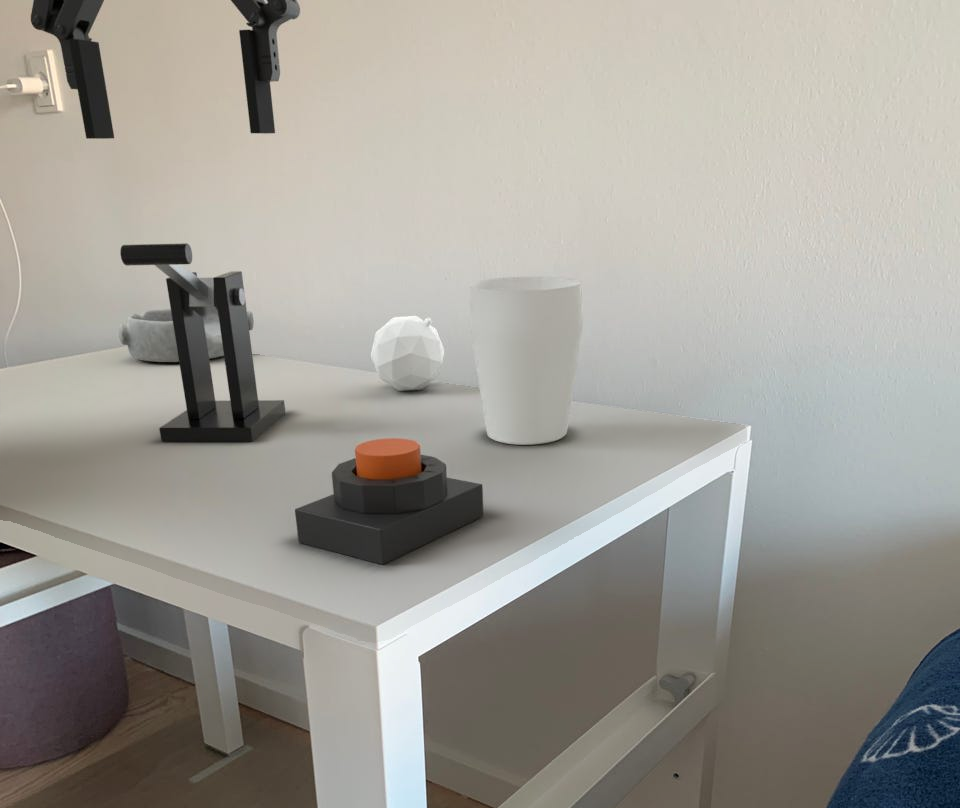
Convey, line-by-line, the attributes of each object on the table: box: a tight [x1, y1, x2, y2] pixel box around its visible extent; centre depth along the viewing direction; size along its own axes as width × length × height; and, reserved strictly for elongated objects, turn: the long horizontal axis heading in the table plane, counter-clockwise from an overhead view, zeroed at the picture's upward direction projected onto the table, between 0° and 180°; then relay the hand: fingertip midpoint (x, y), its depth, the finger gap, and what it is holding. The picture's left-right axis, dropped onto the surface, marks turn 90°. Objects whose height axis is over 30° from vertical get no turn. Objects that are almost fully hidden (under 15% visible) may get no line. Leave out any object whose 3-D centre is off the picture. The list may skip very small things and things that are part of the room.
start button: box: [354, 437, 422, 479], centre depth 62 cm, size 4×4×2 cm
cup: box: [468, 276, 584, 446], centre depth 81 cm, size 9×9×12 cm
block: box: [294, 454, 484, 565], centre depth 63 cm, size 10×7×4 cm
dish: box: [118, 308, 255, 363], centre depth 121 cm, size 14×14×5 cm
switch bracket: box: [158, 270, 286, 443], centre depth 86 cm, size 10×8×13 cm
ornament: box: [370, 315, 446, 392], centre depth 99 cm, size 7×7×8 cm
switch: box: [120, 242, 218, 317], centre depth 80 cm, size 12×5×2 cm, turn 174°
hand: (180, 136), depth 76 cm, fingers open, 13 cm apart
